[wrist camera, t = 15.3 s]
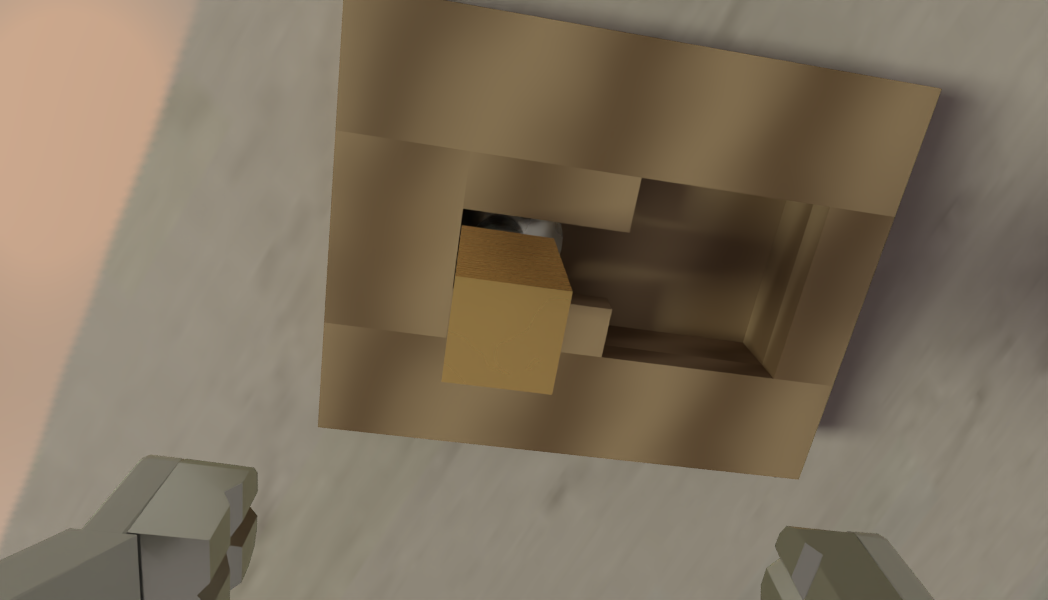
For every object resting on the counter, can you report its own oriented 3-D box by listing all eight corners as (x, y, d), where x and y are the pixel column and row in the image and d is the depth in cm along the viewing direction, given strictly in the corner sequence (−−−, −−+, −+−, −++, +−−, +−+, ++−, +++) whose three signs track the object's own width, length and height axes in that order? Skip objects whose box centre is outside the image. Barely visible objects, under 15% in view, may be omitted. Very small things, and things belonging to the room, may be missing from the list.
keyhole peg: (569, 180, 26) (619, 260, 17) (548, 296, 28) (581, 430, 18) (444, 160, 26) (419, 232, 16) (429, 280, 28) (399, 410, 18)
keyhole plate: (871, 81, 27) (941, 88, 23) (759, 423, 32) (798, 479, 28) (368, -8, 25) (344, -18, 20) (341, 374, 30) (317, 427, 26)
